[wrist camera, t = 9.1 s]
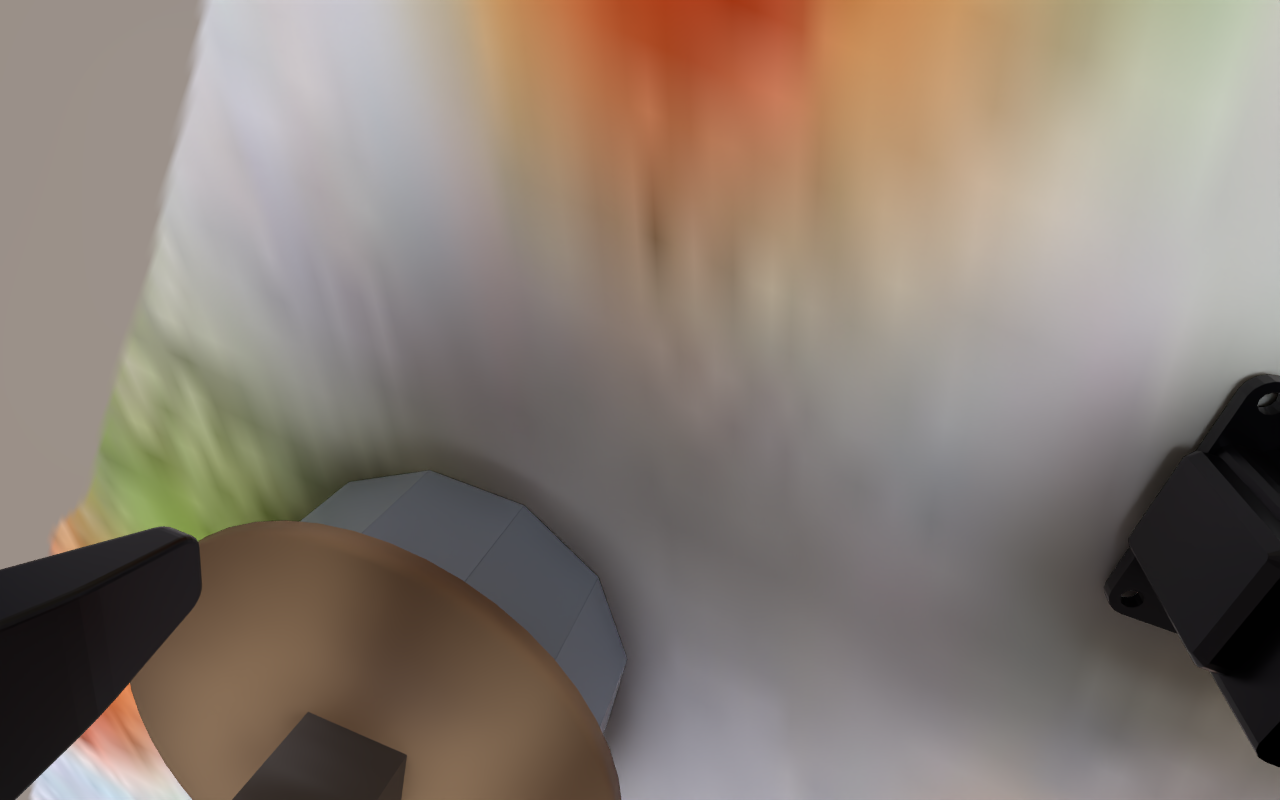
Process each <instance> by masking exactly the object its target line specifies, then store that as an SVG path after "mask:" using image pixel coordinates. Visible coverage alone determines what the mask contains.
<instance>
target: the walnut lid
mask: <svg viewBox="0 0 1280 800" xmlns="http://www.w3.org/2000/svg"><path fill="white" fill-rule="evenodd" d="M198 543H199V547H200V560H201V575H202V591H201V595H200V597H199V599H198V601H197V603H196V605H195V606H194V608H193V609H192V610H191V612H190V613H189V614H188V615H187V616H186V617H185V619H184V620H183V621H182V622H181V623H180V624H179V626H178V627H177V628H176V629H175V630H174V631H173V633H172V634H171V635H170V636H169V637H168V638H167V640H166V641H165V642H164V643H163V644H162V645H161V647H160V648H159V649H158V650H157V651H156V652H155V654H154V655H153V656H152V657H151V658H150V659H149V661H148V662H147V663H146V664H145V665H144V666H143V668H142V669H141V670H140V671H139V672H138V673H137V675H136V676H135V677H134V678H133V679H132V680H131V682H130V685H131V690H132V693H133V696H134V699H135V702H136V705H137V708H138V711H139V714H140V716H141V719H142V721H143V723H144V725H145V727H146V729H147V731H148V734H149V736H150V738H151V740H152V742H153V743H154V745H155V747H156V748H157V750H158V752H159V754H160V755H161V757H162V759H163V760H164V762H165V764H166V765H167V766H168V768H169V769H170V771H171V772H172V774H173V775H174V776H175V778H176V779H177V781H178V782H179V784H180V785H181V786H182V787H183V789H184V790H185V791H186V792H187V794H188V795H189V796H190V797H191V798H192V800H621V794H620V786H619V779H618V775H617V772H616V768H615V765H614V762H613V758H612V755H611V752H610V749H609V746H608V744H607V742H606V740H605V738H604V735H603V733H602V731H601V729H600V727H599V724H598V722H597V720H596V718H595V717H594V715H593V713H592V712H591V710H590V708H589V707H588V705H587V704H586V702H585V700H584V699H583V697H582V695H581V694H580V692H579V691H578V689H577V688H576V686H575V685H574V684H573V683H572V681H571V680H570V679H569V677H568V676H567V675H566V674H565V672H564V671H563V670H562V668H561V667H560V666H559V665H558V663H557V662H556V661H555V659H554V658H553V657H552V656H551V655H550V654H549V653H548V652H547V651H546V650H545V649H544V648H543V647H542V646H541V645H540V644H539V643H538V642H537V641H536V640H535V638H534V637H533V636H532V635H531V634H530V633H529V632H528V631H527V630H526V629H525V628H523V627H522V626H521V625H520V624H519V623H518V622H516V621H515V620H514V619H513V618H512V617H511V616H509V615H508V614H507V613H506V612H505V611H504V610H502V609H501V608H500V607H499V606H498V605H497V604H495V603H494V602H493V601H491V600H490V599H488V598H487V597H486V596H484V595H483V594H481V593H480V592H478V591H477V590H476V589H474V588H473V587H471V586H470V585H469V584H467V583H466V582H464V581H463V580H461V579H460V578H458V577H456V576H454V575H453V574H451V573H449V572H447V571H446V570H444V569H442V568H440V567H439V566H437V565H435V564H434V563H432V562H430V561H428V560H427V559H424V558H422V557H420V556H418V555H416V554H413V553H411V552H409V551H407V550H404V549H402V548H400V547H398V546H396V545H393V544H391V543H389V542H386V541H383V540H380V539H377V538H374V537H371V536H368V535H365V534H362V533H359V532H356V531H352V530H347V529H343V528H338V527H333V526H329V525H324V524H319V523H309V522H298V521H287V520H285V521H264V522H253V523H248V524H243V525H238V526H234V527H229V528H226V529H224V530H221V531H219V532H216V533H214V534H211V535H209V536H207V537H205V538H203V539H202V540H200V541H199V542H198Z"/></svg>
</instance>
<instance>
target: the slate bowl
mask: <svg viewBox="0 0 1280 800" xmlns="http://www.w3.org/2000/svg"><path fill="white" fill-rule="evenodd" d="M300 522H309V523H319V524H324V525H329V526H333V527H338V528H343V529H347V530H352V531H356V532H359V533H362V534H365V535H368V536H371V537H374V538H377V539H380V540H383V541H386V542H389V543H391V544H393V545H396V546H398V547H400V548H402V549H404V550H407V551H409V552H411V553H413V554H416V555H418V556H420V557H422V558H424V559H427V560H428V561H430V562H432V563H434V564H435V565H437V566H439V567H440V568H442V569H444V570H446V571H447V572H449V573H451V574H453V575H454V576H456V577H458V578H460V579H461V580H463V581H464V582H466V583H467V584H469V585H470V586H471V587H473V588H474V589H476V590H477V591H478V592H480V593H481V594H483V595H484V596H486V597H487V598H488V599H490V600H491V601H493V602H494V603H495V604H497V605H498V606H499V607H500V608H501V609H502V610H504V611H505V612H506V613H507V614H508V615H509V616H511V617H512V618H513V619H514V620H515V621H516V622H518V623H519V624H520V625H521V626H522V627H523V628H525V629H526V630H527V631H528V632H529V633H530V634H531V635H532V636H533V637H534V638H535V640H536V641H537V642H538V643H539V644H540V645H541V646H542V647H543V648H544V649H545V650H546V651H547V652H548V653H549V654H550V655H551V656H552V657H553V658H554V659H555V661H556V662H557V663H558V665H559V666H560V667H561V668H562V670H563V671H564V672H565V674H566V675H567V676H568V677H569V679H570V680H571V681H572V683H573V684H574V685H575V686H576V688H577V689H578V691H579V692H580V694H581V695H582V697H583V699H584V700H585V702H586V704H587V705H588V707H589V708H590V710H591V712H592V713H593V715H594V717H595V718H596V720H597V722H598V724H599V727H600V729H601V731H602V733H604V731H605V728H606V726H607V723H608V720H609V716H610V713H611V710H612V707H613V704H614V700H615V697H616V694H617V691H618V687H619V684H620V681H621V678H622V675H623V671H624V668H625V665H626V662H627V657H626V654H625V652H624V649H623V646H622V643H621V640H620V637H619V634H618V632H617V629H616V626H615V623H614V620H613V617H612V615H611V612H610V609H609V606H608V603H607V600H606V598H605V595H604V592H603V589H602V586H601V583H600V581H599V578H598V576H597V575H595V574H594V573H593V572H592V571H591V570H590V569H589V568H588V567H587V566H586V565H585V564H584V563H583V562H582V561H581V560H580V559H579V558H578V557H577V556H576V555H575V554H574V553H573V552H572V551H571V550H570V549H569V548H568V547H567V546H566V545H565V544H563V543H562V542H561V541H560V540H559V539H558V538H557V537H556V536H555V535H554V534H553V533H552V532H551V531H550V530H549V529H548V528H547V527H546V526H545V525H544V524H543V523H542V522H541V521H540V520H539V519H538V518H537V517H536V516H535V515H534V514H532V513H531V512H530V511H529V510H528V509H527V508H526V507H525V506H524V505H522V504H519V503H516V502H514V501H511V500H508V499H506V498H503V497H500V496H498V495H495V494H492V493H489V492H487V491H484V490H481V489H479V488H476V487H473V486H471V485H468V484H465V483H463V482H460V481H457V480H455V479H452V478H449V477H447V476H444V475H441V474H438V473H436V472H433V471H430V470H428V471H421V472H414V473H407V474H401V475H394V476H387V477H380V478H373V479H366V480H359V481H352V482H348V483H347V484H346V485H344V486H343V487H342V488H341V489H339V490H338V491H337V492H336V493H334V494H333V495H332V496H331V497H330V498H328V499H327V500H326V501H325V502H323V503H322V504H321V505H320V506H318V507H317V508H316V509H315V510H313V511H312V512H311V513H310V514H308V515H307V516H306V517H305V518H303V519H302V520H301V521H300Z"/></svg>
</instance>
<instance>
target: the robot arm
mask: <svg viewBox="0 0 1280 800" xmlns="http://www.w3.org/2000/svg"><path fill="white" fill-rule="evenodd" d="M1272 392H1273V393H1278V397H1277V399H1276V401H1275V402H1274V403H1272V404H1271V405H1269V406H1266V407H1257V405H1258V402H1259V400H1260V399H1261V398H1262V397H1263V396H1264V395H1266V394H1269V393H1272ZM1128 542H1129V545H1130V548H1129V549H1128V551H1127V552H1126V553H1125V555H1124V556H1123V558H1122V559H1121V561H1120V562H1119V564H1118V565H1117V567H1116V568H1115V569H1114V571H1113V572H1112V574H1111V575H1110V577H1109V578H1108V580H1107V581H1106V583H1105V586H1104V591H1105V595H1106V597H1107V600H1108V602H1109V604H1110V605H1111V607H1112V608H1113V609H1114V610H1115V611H1117V612H1119V613H1121V614H1123V615H1126V616H1129V617H1132V618H1134V619H1137V620H1140V621H1143V622H1146V623H1149V624H1151V625H1154V626H1157V627H1160V628H1163V629H1166V630H1169V631H1171V632H1174V633H1177V634H1178V635H1179V637H1180V639H1181V641H1182V642H1183V644H1184V646H1185V648H1186V650H1187V651H1188V653H1189V655H1190V657H1191V659H1192V660H1193V662H1194V663H1195V664H1196V665H1197V666H1198V667H1200V668H1203V669H1205V670H1208V671H1210V673H1211V675H1212V676H1213V678H1214V680H1215V682H1216V684H1217V685H1218V687H1219V689H1220V691H1221V692H1222V694H1223V696H1224V698H1225V699H1226V701H1227V703H1228V705H1229V706H1230V708H1231V710H1232V712H1233V713H1234V715H1235V717H1236V719H1237V720H1238V722H1239V724H1240V726H1241V727H1242V729H1243V731H1244V733H1245V734H1246V736H1247V738H1248V740H1249V742H1250V743H1251V745H1252V747H1253V749H1254V750H1255V752H1256V754H1257V756H1258V757H1259V758H1260V759H1262V760H1263V761H1265V762H1267V763H1269V764H1272V765H1275V766H1277V767H1280V376H1276V375H1268V374H1267V375H1261V376H1256V377H1254V378H1252V379H1250V380H1248V381H1246V382H1245V383H1244V384H1243V385H1242V386H1241V387H1240V388H1239V389H1238V390H1237V392H1236V393H1235V395H1234V396H1233V398H1232V399H1231V401H1230V402H1229V403H1228V405H1227V406H1226V408H1225V409H1224V411H1223V412H1222V414H1221V415H1220V417H1219V418H1218V419H1217V421H1216V422H1215V424H1214V425H1213V427H1212V428H1211V430H1210V431H1209V433H1208V434H1207V436H1206V437H1205V438H1204V440H1203V441H1202V443H1201V444H1200V446H1199V447H1198V449H1197V450H1196V451H1195V452H1193V453H1191V454H1189V455H1187V456H1185V457H1184V458H1183V459H1182V460H1181V462H1180V463H1179V465H1178V466H1177V468H1176V469H1175V470H1174V472H1173V473H1172V475H1171V476H1170V478H1169V479H1168V481H1167V482H1166V484H1165V485H1164V487H1163V488H1162V490H1161V491H1160V493H1159V494H1158V495H1157V497H1156V498H1155V500H1154V501H1153V503H1152V504H1151V506H1150V507H1149V509H1148V510H1147V512H1146V513H1145V515H1144V516H1143V517H1142V519H1141V520H1140V522H1139V523H1138V525H1137V526H1136V528H1135V529H1134V531H1133V532H1132V534H1131V535H1130V537H1129V539H1128ZM1130 590H1135V591H1138V593H1137V594H1135V595H1134V596H1131V597H1122V596H1121V595H1122V594H1123V593H1124V592H1126V591H1130ZM201 591H202V575H201V560H200V547H199V543H198V541H197V540H196V538H195V537H193V536H191V535H189V534H186V533H184V532H181V531H179V530H176V529H174V528H171V527H165V526H163V527H156V528H152V529H148V530H145V531H141V532H137V533H134V534H130V535H126V536H123V537H119V538H115V539H111V540H108V541H104V542H100V543H97V544H93V545H89V546H86V547H82V548H78V549H75V550H71V551H67V552H64V553H60V554H56V555H53V556H49V557H45V558H42V559H38V560H34V561H31V562H27V563H23V564H19V565H16V566H12V567H8V568H5V569H1V570H0V800H16V799H17V798H18V797H19V796H20V794H22V793H23V792H24V791H25V790H26V789H27V788H28V787H29V786H30V785H31V784H32V783H33V782H34V781H35V780H36V779H37V778H38V777H39V776H40V775H41V774H42V773H43V772H44V771H45V770H46V769H47V768H48V767H49V766H50V765H51V764H52V763H53V762H54V761H55V760H56V759H57V758H59V757H60V756H61V755H62V754H63V753H64V752H65V751H66V750H67V749H68V748H69V747H70V746H71V745H72V744H73V743H74V742H75V741H76V740H77V739H78V738H79V737H80V736H81V735H82V734H83V733H84V732H85V731H86V730H87V729H88V728H89V727H90V726H91V725H92V724H93V723H94V722H95V721H96V720H97V719H98V718H99V717H100V715H101V714H102V713H103V712H104V711H105V710H106V709H107V708H108V707H109V706H110V704H111V703H112V702H113V701H114V700H115V699H116V698H117V697H118V696H119V694H120V693H121V692H122V691H123V690H124V689H125V687H126V686H127V685H128V684H129V683H130V682H131V680H132V679H133V678H134V677H135V676H136V675H137V673H138V672H139V671H140V670H141V669H142V668H143V666H144V665H145V664H146V663H147V662H148V661H149V659H150V658H151V657H152V656H153V655H154V654H155V652H156V651H157V650H158V649H159V648H160V647H161V645H162V644H163V643H164V642H165V641H166V640H167V638H168V637H169V636H170V635H171V634H172V633H173V631H174V630H175V629H176V628H177V627H178V626H179V624H180V623H181V622H182V621H183V620H184V619H185V617H186V616H187V615H188V614H189V613H190V612H191V610H192V609H193V608H194V606H195V605H196V603H197V601H198V599H199V597H200V595H201Z"/></svg>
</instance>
